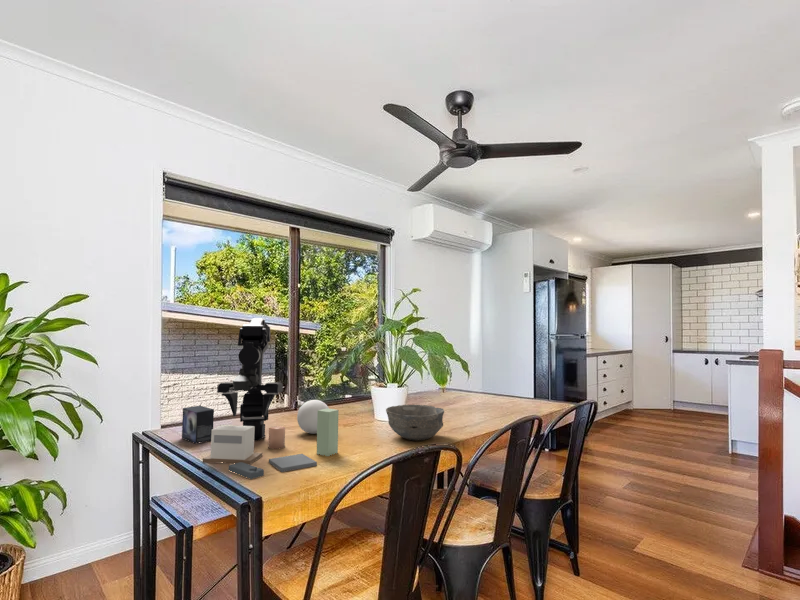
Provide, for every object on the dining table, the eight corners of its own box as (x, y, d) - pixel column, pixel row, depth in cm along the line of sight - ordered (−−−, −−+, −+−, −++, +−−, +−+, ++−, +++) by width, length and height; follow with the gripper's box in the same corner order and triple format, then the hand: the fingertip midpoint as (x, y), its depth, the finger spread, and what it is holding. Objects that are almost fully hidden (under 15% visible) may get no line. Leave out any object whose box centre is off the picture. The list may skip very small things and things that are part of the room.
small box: (180, 438, 150) (181, 407, 151) (198, 435, 155) (200, 405, 156) (194, 444, 143) (196, 411, 144) (213, 440, 148) (215, 408, 149)
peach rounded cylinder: (265, 448, 139) (266, 429, 139) (272, 444, 144) (272, 425, 144) (281, 449, 138) (281, 429, 139) (286, 445, 143) (287, 426, 144)
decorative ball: (331, 429, 167) (332, 397, 167) (328, 437, 155) (329, 402, 156) (299, 429, 166) (300, 397, 167) (294, 437, 154) (295, 402, 155)
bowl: (377, 442, 148) (378, 412, 149) (394, 429, 168) (394, 403, 169) (438, 447, 143) (438, 416, 143) (448, 433, 162) (448, 406, 163)
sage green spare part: (316, 454, 133) (317, 410, 134) (326, 450, 137) (327, 408, 138) (328, 456, 131) (329, 412, 132) (337, 452, 135) (338, 409, 136)
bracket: (241, 469, 120) (241, 461, 120) (264, 477, 113) (264, 469, 113) (227, 472, 116) (228, 465, 117) (250, 481, 110) (251, 473, 110)
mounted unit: (202, 462, 124) (203, 429, 124) (217, 454, 132) (218, 423, 132) (250, 464, 122) (251, 431, 123) (262, 456, 130) (263, 425, 131)
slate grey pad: (268, 462, 124) (268, 458, 124) (302, 457, 130) (302, 453, 130) (281, 472, 116) (281, 468, 116) (316, 465, 122) (316, 461, 122)
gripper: (209, 365, 129) (207, 420, 128) (272, 366, 129) (270, 420, 127) (226, 364, 140) (224, 414, 139) (284, 364, 140) (282, 415, 138)
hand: (249, 416), depth 135 cm, fingers open, 9 cm apart
